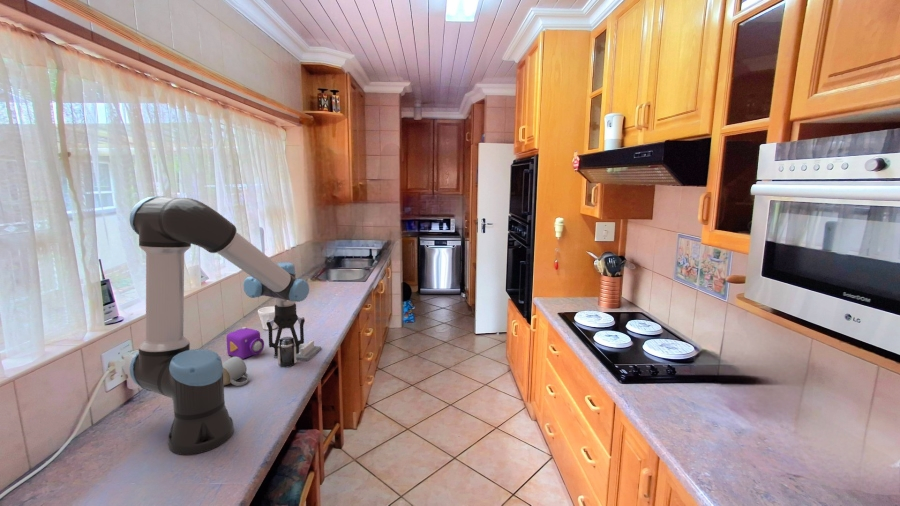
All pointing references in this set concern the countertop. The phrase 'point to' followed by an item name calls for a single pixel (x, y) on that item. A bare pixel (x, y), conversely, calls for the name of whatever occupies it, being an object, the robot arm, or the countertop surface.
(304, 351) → the mount
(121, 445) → the countertop surface
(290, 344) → the lens
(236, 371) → the ceramic mug
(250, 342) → the toy camera
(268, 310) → the cup
